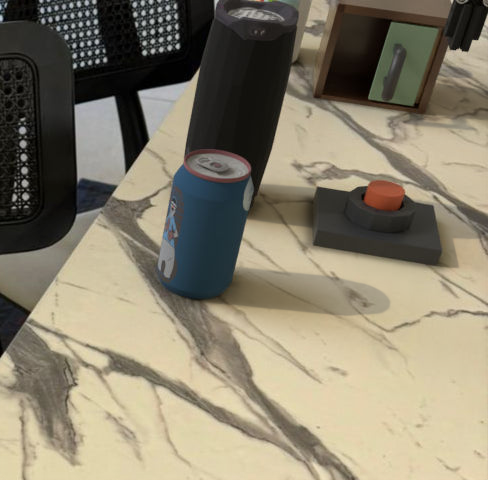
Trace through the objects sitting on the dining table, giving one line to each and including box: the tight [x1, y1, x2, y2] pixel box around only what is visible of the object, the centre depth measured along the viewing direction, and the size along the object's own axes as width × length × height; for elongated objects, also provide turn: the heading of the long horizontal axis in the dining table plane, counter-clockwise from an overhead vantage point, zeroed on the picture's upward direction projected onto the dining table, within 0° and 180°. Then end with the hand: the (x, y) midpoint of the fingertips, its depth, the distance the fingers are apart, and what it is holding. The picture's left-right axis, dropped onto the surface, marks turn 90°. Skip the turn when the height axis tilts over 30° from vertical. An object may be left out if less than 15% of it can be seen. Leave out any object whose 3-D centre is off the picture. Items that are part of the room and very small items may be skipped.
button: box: [363, 179, 406, 211], centre depth 102 cm, size 4×4×2 cm
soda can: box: [156, 149, 254, 300], centre depth 91 cm, size 7×7×12 cm
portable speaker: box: [182, 0, 299, 211], centre depth 101 cm, size 9×9×20 cm
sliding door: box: [368, 21, 439, 106], centre depth 124 cm, size 6×5×9 cm
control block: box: [312, 185, 443, 267], centre depth 103 cm, size 12×10×4 cm
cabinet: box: [312, 0, 453, 116], centre depth 130 cm, size 14×10×12 cm
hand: (457, 45), depth 95 cm, fingers closed
